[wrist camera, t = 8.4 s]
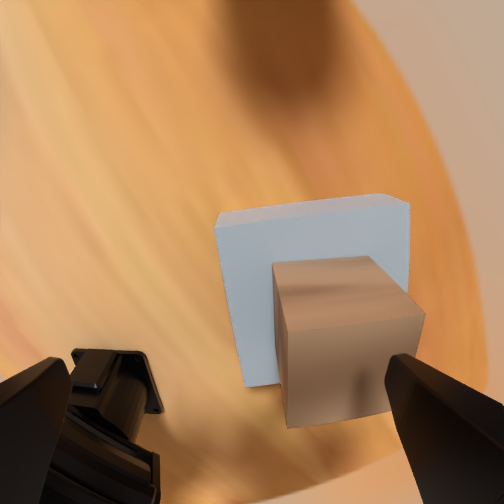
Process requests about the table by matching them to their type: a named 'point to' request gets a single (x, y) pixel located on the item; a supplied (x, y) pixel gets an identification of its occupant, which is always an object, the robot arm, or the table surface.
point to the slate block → (300, 259)
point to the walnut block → (338, 337)
